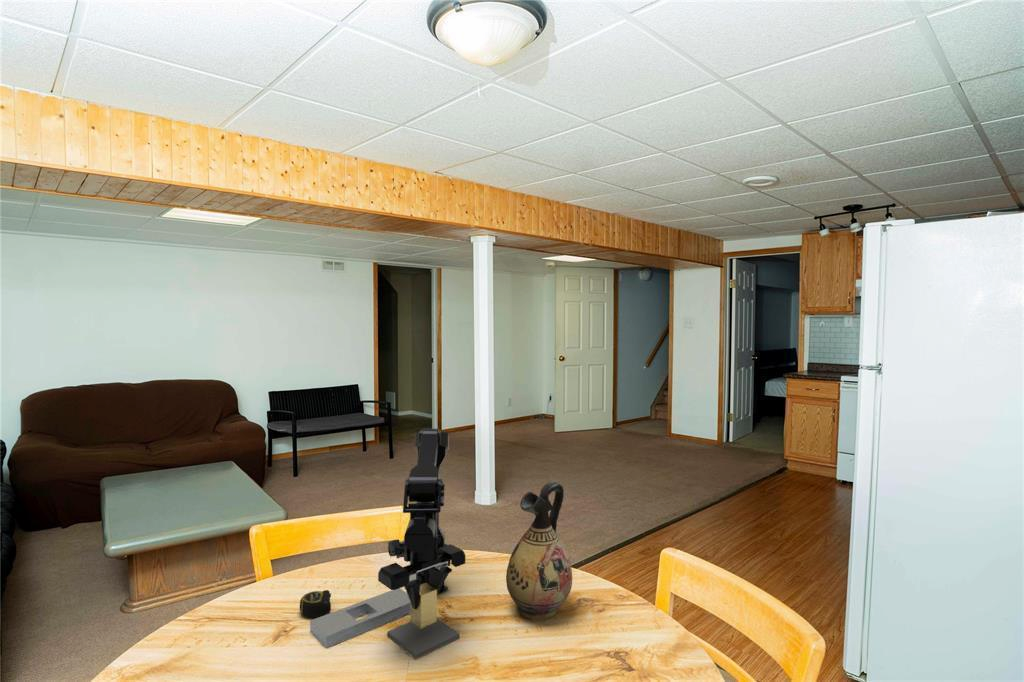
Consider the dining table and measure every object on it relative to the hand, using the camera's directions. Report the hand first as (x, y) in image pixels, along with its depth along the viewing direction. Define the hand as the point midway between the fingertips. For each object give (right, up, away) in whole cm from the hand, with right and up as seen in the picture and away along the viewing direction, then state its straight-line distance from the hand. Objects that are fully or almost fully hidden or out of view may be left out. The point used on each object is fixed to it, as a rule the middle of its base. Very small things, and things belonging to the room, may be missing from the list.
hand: (423, 604), depth 117 cm
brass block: (0, -4, 0) cm, 4 cm away
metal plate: (-14, -7, +6) cm, 17 cm away
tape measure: (-26, -7, +11) cm, 29 cm away
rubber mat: (0, -7, 0) cm, 7 cm away
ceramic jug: (+26, -7, +12) cm, 29 cm away
